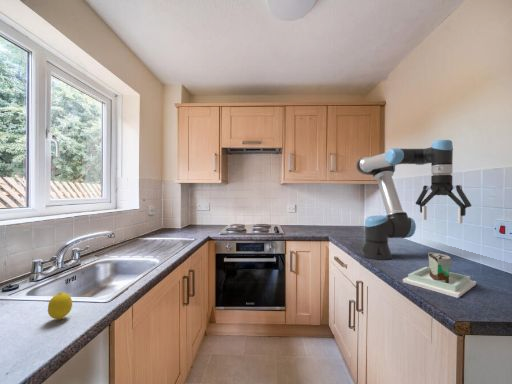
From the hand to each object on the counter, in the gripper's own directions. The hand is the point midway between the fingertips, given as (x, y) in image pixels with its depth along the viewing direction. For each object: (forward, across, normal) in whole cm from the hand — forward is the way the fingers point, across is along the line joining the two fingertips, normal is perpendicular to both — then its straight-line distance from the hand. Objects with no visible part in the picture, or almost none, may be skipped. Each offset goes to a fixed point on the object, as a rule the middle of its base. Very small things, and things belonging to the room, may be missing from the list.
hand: (441, 221), depth 107 cm
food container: (+22, +6, -14) cm, 27 cm away
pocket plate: (+24, +5, -15) cm, 28 cm away
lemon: (+23, -43, -141) cm, 149 cm away
